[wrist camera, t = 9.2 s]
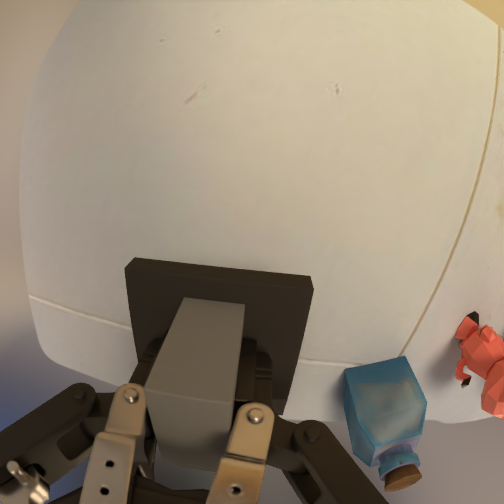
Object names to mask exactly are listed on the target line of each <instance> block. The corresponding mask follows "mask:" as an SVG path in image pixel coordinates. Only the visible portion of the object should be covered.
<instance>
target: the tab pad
mask: <svg viewBox="0 0 504 504" xmlns="http://www.w3.org/2000/svg"><path fill="white" fill-rule="evenodd" d="M125 278H126V287H127V295H128V303H129V310H130V317H131V323H132V330H133V336H134V342H135V347H136V353H137V358H138V362H139V360H140V358H141V356H142V354H143V353H144V350H145V348H146V346H147V344H148V343H150V342H151V341H152V340H153V339H155V338H159V339H163V337H164V335H165V333H166V331H167V329H169V331H168V333H167V336H166V338H165V340H164V342H163V344H162V347H161V349H160V351H159V353H158V356H157V358H156V360H155V363H154V365H153V367H152V369H151V372H150V374H149V376H148V379H147V381H146V383H145V386H144V388H143V391H144V395H145V399H146V403H147V407H148V411H149V415H150V419H151V422H152V426H153V429H154V433H155V436H156V440H157V443H158V446H159V449H160V453H161V456H162V458H163V462H164V463H167V464H172V465H177V466H182V467H187V468H193V469H199V470H205V471H213V472H216V471H217V468H218V465H219V461H220V459H221V456H222V454H224V452H225V449H226V446H227V443H228V440H229V437H230V434H231V430H232V421H233V409H234V398H235V390H236V382H237V374H238V366H239V358H240V350H241V342H242V339H248V340H257V349H256V352H265V353H268V354H269V356H270V358H271V359H272V399H281V400H287V399H288V395H289V391H290V388H291V384H292V380H293V376H294V372H295V368H296V365H297V361H298V357H299V353H300V348H301V344H302V340H303V336H304V332H305V327H306V323H307V319H308V314H309V310H310V305H311V300H312V296H313V291H314V288H313V284H312V281H311V277H310V276H305V275H294V274H284V273H274V272H264V271H254V270H244V269H234V268H225V267H216V266H206V265H197V264H188V263H179V262H170V261H162V260H153V259H145V258H136V257H135V258H134V259H133V260H132V261H131V262H130V263H129V264H128V265H127V266H126V267H125Z"/></svg>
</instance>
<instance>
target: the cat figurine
mask: <svg viewBox="0 0 504 504" xmlns="http://www.w3.org/2000/svg"><path fill="white" fill-rule="evenodd" d="M478 326H479V314H478V313H477V312H475V311H474V312H473V313H471V314H469V315H467V316H466V318H465V319H464V321H463V322H462V324H461V325H460V326H459V328H458V330H457V333H456V335H455V337H456V338H457V339H462V341H461V342H460V343H459V347H460V348H462V359H461V360H460V361H459V362H458V363H457V369H456V375H455V376H456V379H458V380H460V381H462V384H461V386H462V388H463V387H465V386H467V385H469V382H470V379H471V377H472V376H470V375H467V374H465V373H463V367H464V366H465V365H467V367H468V369H469V370H471V371H473V372H474V373H476V374H477V375H479V376H480V377H482V378H484V379H485V380H486V383H485V386H484V389H483V392H482V394H481V409H482V410H484V411H486V412H488V413H490V414H492V415H494V416H497V417H499V418H502V419H504V341H503V339H502V338H501V337H500V336H499V335H498V334H497V333H496V332H495V331H494V330H493V328H492V327H489V326H488V325H485V326H483V327H482V328H480V329H477V328H478ZM476 329H477V330H476Z"/></svg>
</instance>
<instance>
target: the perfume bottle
mask: <svg viewBox="0 0 504 504" xmlns="http://www.w3.org/2000/svg"><path fill="white" fill-rule="evenodd" d="M426 406H427V401H426V398H425V396H424V394H423V392H422V390H421V387H420V385H419V383H418V381H417V379H416V377H415V375H414V373H413V371H412V369H411V367H410V365H409V363H408V361H407V359H406V357H405V356H403V357H399V358H395V359H391V360H387V361H383V362H378V363H374V364H369V365H364V366H359V367H354V368H349V369H345V391H344V410H345V415H346V420H347V425H348V429H349V435H350V440H351V444H352V450H353V454H354V455H355V456H357V457H358V458H359V459H360V460H362V461H363V462H364V463H365V464H367V465H368V466H369V467H374V466H377V465H380V467H379V468H378V471H379V475H380V479H381V480H382V481H385V491H387V492H391V491H396V490H400V489H403V488H406V487H408V486H411V485H412V484H414V483H416V482H417V481H419V480H420V479H421V477H422V475H421V473H420V472H419V470H418V467H419V466H420V461H419V458H418V455H417V454H416V453H413V452H414V450H415V448H416V446H417V444H418V442H419V439H420V437H421V435H422V430H423V423H424V419H425V413H426Z"/></svg>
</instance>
